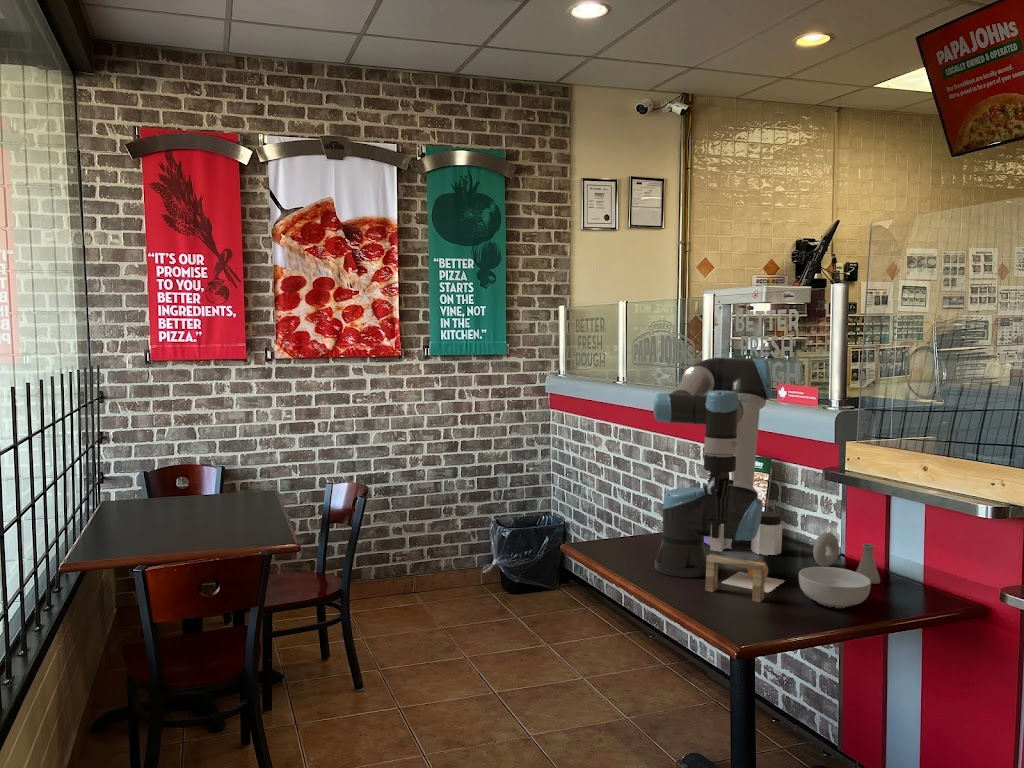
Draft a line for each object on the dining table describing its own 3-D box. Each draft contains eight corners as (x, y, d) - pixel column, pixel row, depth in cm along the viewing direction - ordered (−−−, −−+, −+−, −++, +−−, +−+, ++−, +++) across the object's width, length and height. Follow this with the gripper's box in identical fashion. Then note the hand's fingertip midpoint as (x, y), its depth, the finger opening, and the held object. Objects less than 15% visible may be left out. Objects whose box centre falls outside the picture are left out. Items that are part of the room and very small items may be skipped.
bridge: (759, 602, 209) (761, 566, 208) (705, 590, 217) (706, 556, 216) (763, 599, 211) (765, 563, 210) (709, 587, 219) (711, 553, 219)
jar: (770, 557, 251) (772, 518, 250) (746, 552, 256) (748, 513, 256) (785, 552, 257) (787, 514, 256) (761, 547, 263) (762, 509, 262)
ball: (748, 581, 230) (742, 573, 226) (753, 563, 232) (747, 554, 228) (767, 585, 226) (762, 576, 223) (772, 566, 229) (767, 558, 225)
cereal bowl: (787, 603, 208) (788, 575, 208) (811, 588, 221) (812, 562, 220) (857, 619, 197) (858, 590, 197) (878, 603, 210) (879, 575, 210)
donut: (830, 562, 246) (832, 529, 246) (840, 565, 244) (842, 531, 243) (809, 567, 241) (811, 533, 240) (820, 570, 238) (821, 536, 237)
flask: (883, 585, 225) (885, 549, 224) (855, 583, 226) (857, 547, 225) (877, 578, 232) (879, 542, 231) (850, 576, 233) (851, 541, 233)
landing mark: (721, 583, 224) (721, 582, 224) (739, 572, 234) (739, 571, 234) (769, 592, 216) (769, 592, 216) (785, 581, 227) (785, 580, 227)
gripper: (724, 459, 194) (721, 558, 195) (745, 453, 204) (741, 547, 206) (694, 455, 198) (691, 553, 199) (715, 450, 208) (712, 542, 210)
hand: (716, 550), depth 203 cm, fingers closed
